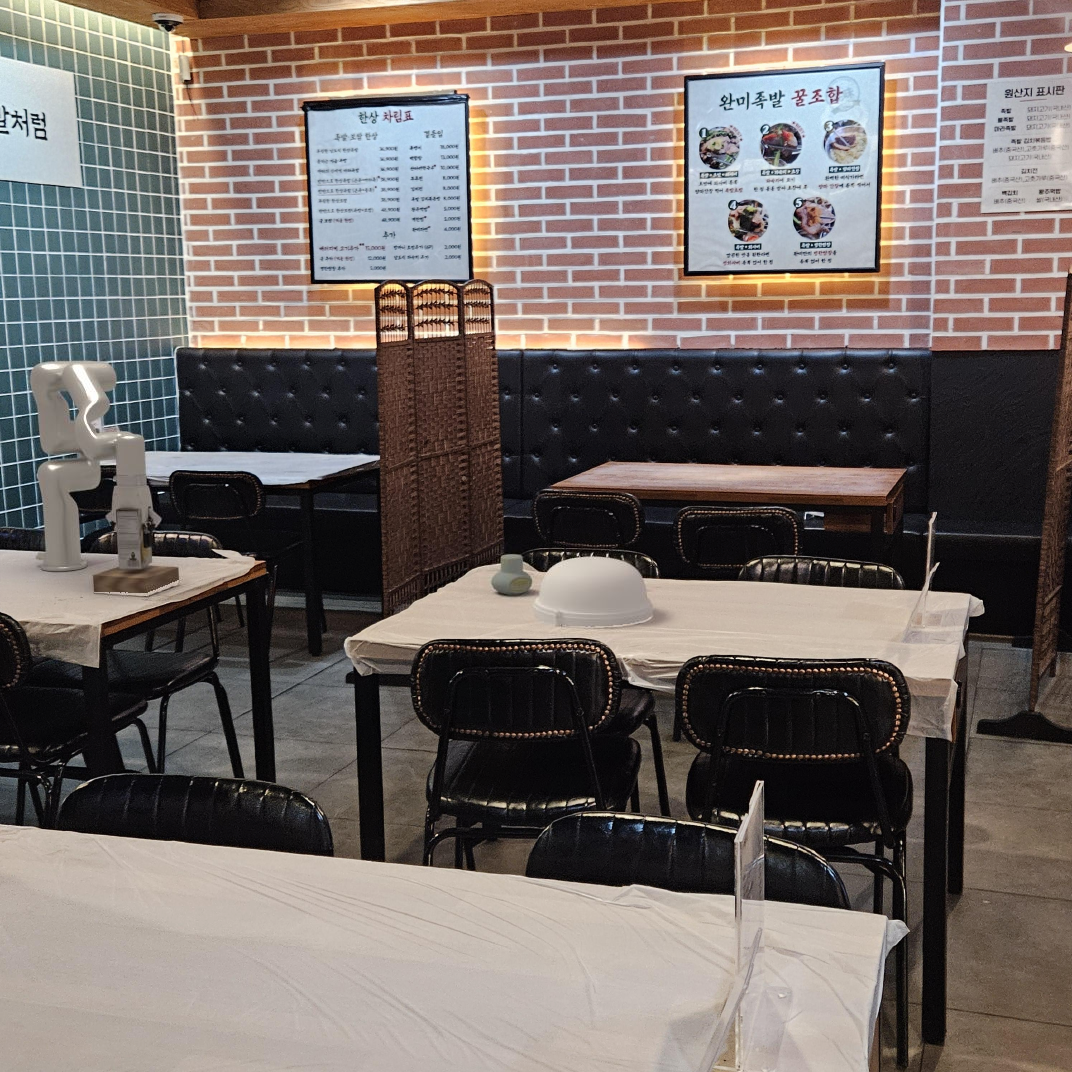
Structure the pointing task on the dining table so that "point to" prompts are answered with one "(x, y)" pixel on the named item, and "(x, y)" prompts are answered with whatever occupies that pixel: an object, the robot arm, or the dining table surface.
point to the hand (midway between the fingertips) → (134, 546)
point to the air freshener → (511, 576)
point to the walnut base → (135, 579)
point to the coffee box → (131, 540)
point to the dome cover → (592, 594)
